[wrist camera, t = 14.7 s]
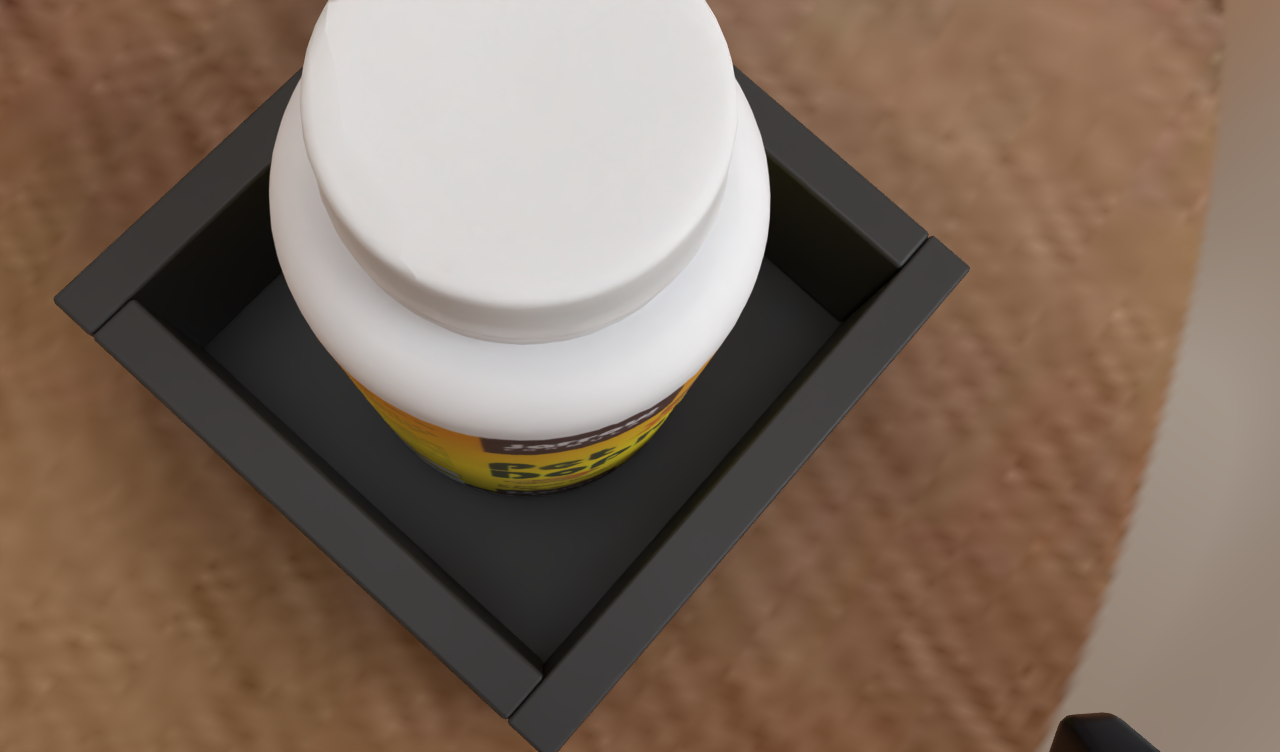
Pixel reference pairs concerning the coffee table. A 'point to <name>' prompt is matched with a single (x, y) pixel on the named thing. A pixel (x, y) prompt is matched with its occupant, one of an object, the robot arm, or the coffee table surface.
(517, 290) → the supplement bottle
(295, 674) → the coffee table surface
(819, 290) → the dark square open box
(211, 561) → the coffee table surface
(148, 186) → the coffee table surface
